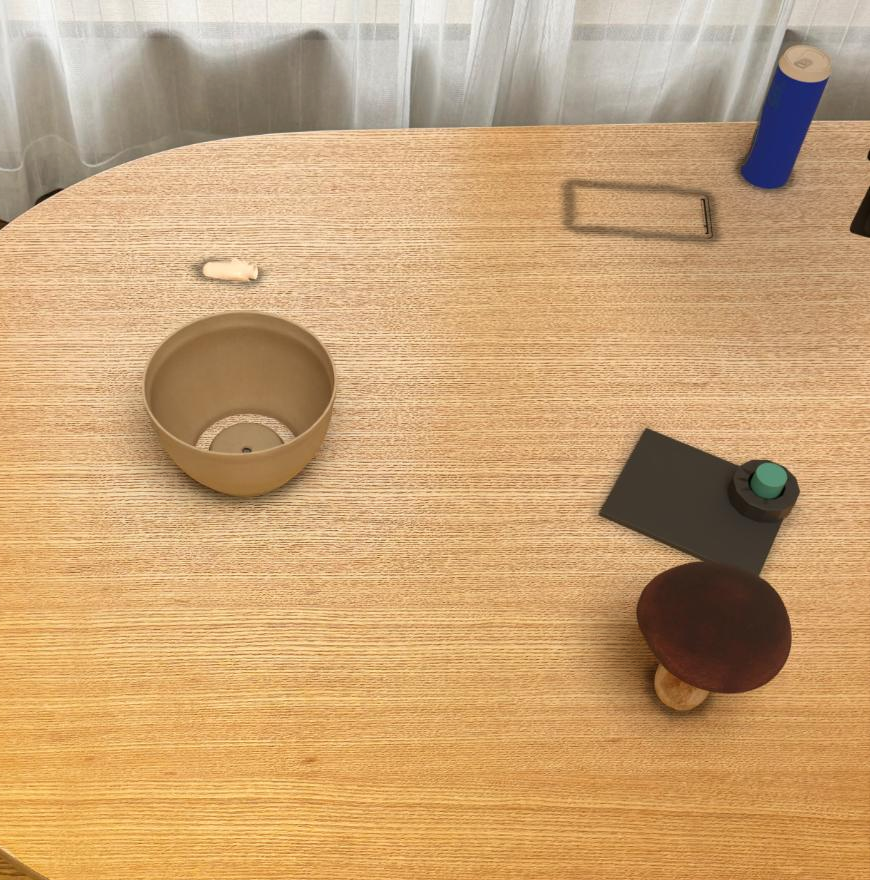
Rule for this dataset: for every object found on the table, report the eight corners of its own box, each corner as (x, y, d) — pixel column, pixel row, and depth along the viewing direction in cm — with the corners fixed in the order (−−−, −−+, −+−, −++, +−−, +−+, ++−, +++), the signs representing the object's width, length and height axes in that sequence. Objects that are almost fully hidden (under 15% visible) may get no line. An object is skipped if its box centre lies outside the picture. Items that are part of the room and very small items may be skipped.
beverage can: (755, 160, 131) (800, 37, 119) (794, 182, 129) (844, 58, 117) (728, 181, 129) (771, 57, 117) (768, 203, 127) (816, 79, 115)
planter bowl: (231, 369, 112) (223, 283, 103) (370, 445, 107) (375, 362, 98) (118, 476, 104) (99, 393, 95) (262, 564, 99) (257, 486, 90)
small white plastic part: (217, 258, 121) (215, 235, 118) (263, 283, 119) (261, 259, 116) (194, 277, 119) (192, 254, 117) (240, 302, 117) (239, 279, 115)
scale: (793, 499, 104) (807, 475, 101) (754, 592, 98) (767, 569, 95) (642, 437, 108) (651, 412, 105) (596, 523, 102) (604, 498, 99)
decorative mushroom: (594, 639, 95) (635, 532, 83) (726, 632, 96) (786, 525, 84) (623, 764, 89) (672, 668, 77) (764, 755, 90) (835, 659, 77)
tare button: (784, 482, 101) (791, 470, 100) (775, 503, 100) (782, 491, 98) (755, 470, 102) (761, 458, 100) (745, 491, 100) (752, 478, 99)
